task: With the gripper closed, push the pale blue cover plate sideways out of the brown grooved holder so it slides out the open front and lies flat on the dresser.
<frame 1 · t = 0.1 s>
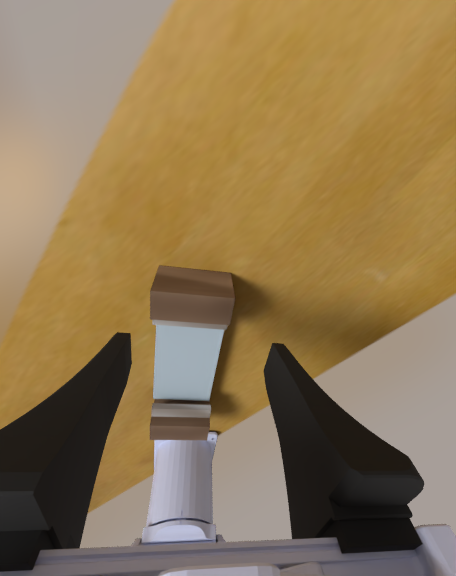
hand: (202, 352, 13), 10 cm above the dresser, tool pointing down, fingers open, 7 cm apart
grooved holder: (187, 349, 27), on the dresser
cover plate: (187, 345, 27), on the dresser
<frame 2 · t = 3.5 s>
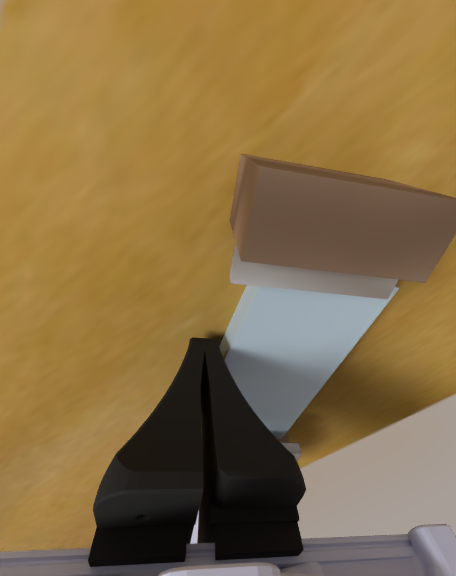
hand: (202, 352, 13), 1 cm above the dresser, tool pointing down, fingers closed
grooved holder: (263, 345, 15), on the dresser
cover plate: (271, 341, 15), on the dresser
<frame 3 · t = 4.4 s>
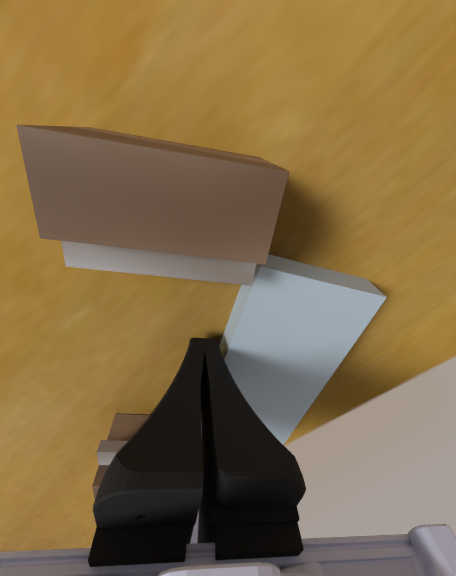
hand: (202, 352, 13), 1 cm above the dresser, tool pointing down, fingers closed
grooved holder: (167, 338, 14), on the dresser
cover plate: (266, 351, 15), on the dresser, touching gripper
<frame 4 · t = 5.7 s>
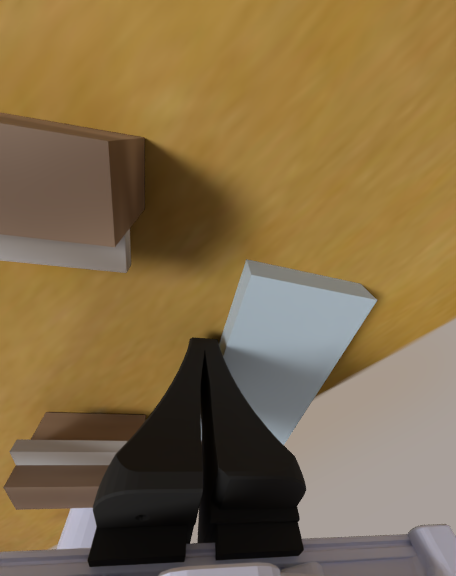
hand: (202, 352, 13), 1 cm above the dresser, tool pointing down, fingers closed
grooved holder: (84, 333, 13), on the dresser
cover plate: (263, 354, 16), on the dresser
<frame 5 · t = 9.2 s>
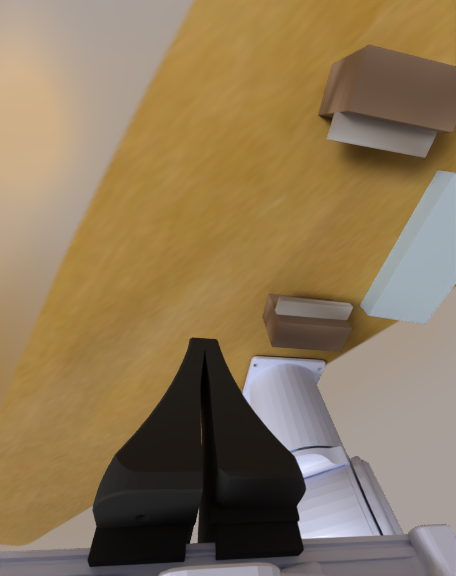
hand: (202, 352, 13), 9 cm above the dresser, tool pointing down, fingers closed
grooved holder: (326, 224, 20), on the dresser
cover plate: (419, 251, 23), on the dresser
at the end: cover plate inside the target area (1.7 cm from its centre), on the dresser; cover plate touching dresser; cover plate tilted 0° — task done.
